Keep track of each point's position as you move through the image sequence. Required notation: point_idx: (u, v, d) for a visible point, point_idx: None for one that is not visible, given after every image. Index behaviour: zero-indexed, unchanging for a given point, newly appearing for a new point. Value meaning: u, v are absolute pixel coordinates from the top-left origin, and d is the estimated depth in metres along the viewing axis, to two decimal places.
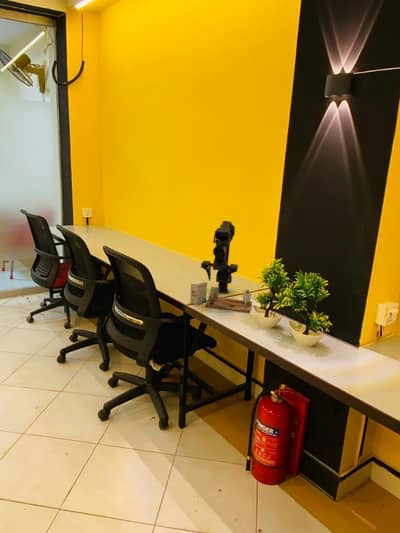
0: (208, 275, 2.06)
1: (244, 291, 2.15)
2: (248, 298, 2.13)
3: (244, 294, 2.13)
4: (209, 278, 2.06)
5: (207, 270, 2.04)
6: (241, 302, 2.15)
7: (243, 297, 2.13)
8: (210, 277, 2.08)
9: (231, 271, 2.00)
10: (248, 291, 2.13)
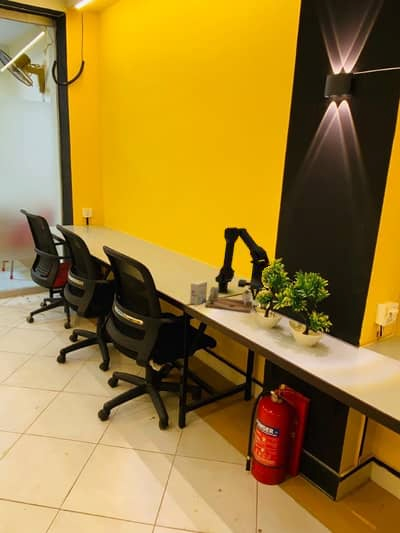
0: (252, 295, 2.13)
1: (244, 291, 2.15)
2: (247, 298, 2.13)
3: (243, 294, 2.13)
4: (253, 298, 2.13)
5: (252, 290, 2.11)
6: (241, 302, 2.15)
7: (242, 297, 2.13)
8: (254, 296, 2.15)
9: (267, 290, 2.08)
10: (247, 291, 2.13)
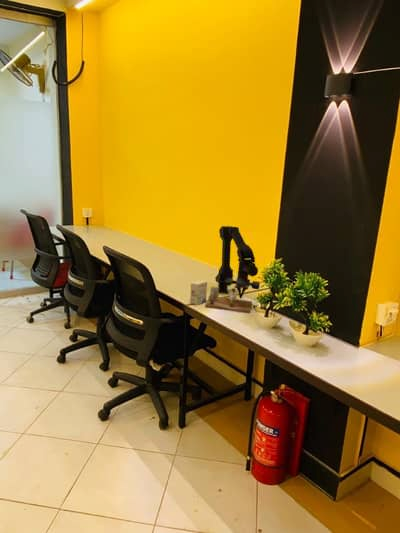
0: (239, 293, 2.14)
1: (230, 289, 2.17)
2: (234, 296, 2.14)
3: (230, 292, 2.14)
4: (240, 296, 2.15)
5: (238, 288, 2.12)
6: (241, 302, 2.15)
7: (229, 295, 2.14)
8: None
9: (254, 288, 2.10)
10: (234, 289, 2.14)
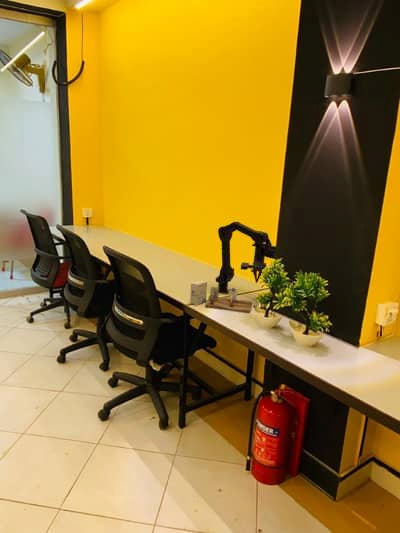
0: (255, 277, 2.17)
1: (230, 289, 2.17)
2: (234, 296, 2.14)
3: (230, 292, 2.14)
4: (256, 280, 2.18)
5: (254, 272, 2.15)
6: (241, 302, 2.15)
7: (229, 295, 2.14)
8: None
9: None
10: (234, 289, 2.14)
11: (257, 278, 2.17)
